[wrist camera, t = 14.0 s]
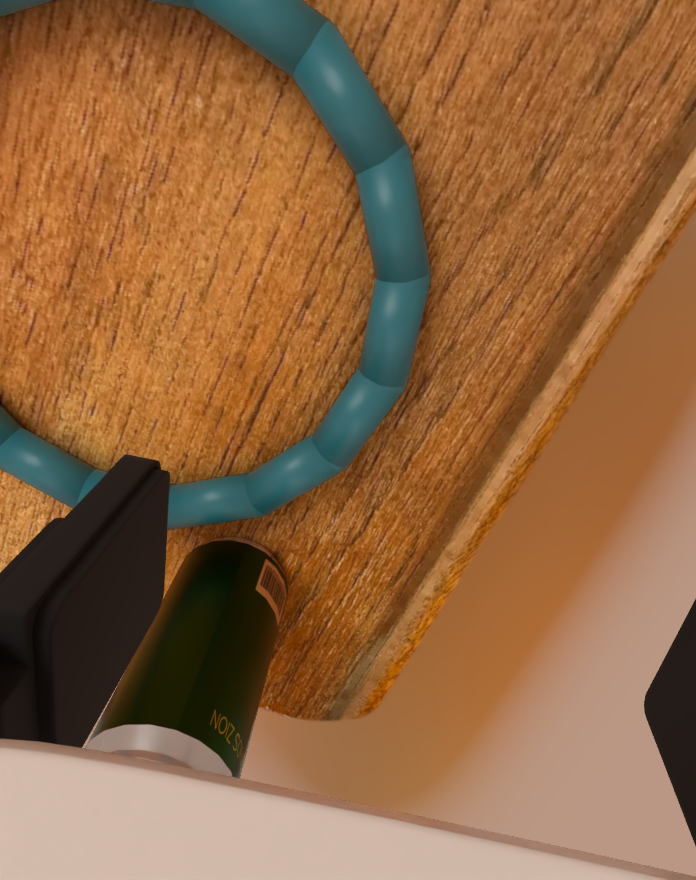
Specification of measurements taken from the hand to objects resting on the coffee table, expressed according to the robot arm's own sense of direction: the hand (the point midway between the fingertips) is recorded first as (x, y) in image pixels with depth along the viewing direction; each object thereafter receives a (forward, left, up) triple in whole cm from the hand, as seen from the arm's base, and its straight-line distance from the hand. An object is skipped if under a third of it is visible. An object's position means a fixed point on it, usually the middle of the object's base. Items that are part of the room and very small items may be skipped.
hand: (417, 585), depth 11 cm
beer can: (+6, +14, -16) cm, 22 cm away
